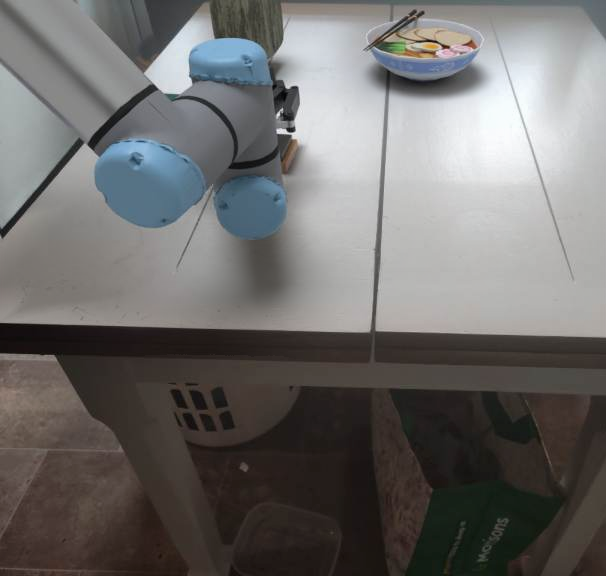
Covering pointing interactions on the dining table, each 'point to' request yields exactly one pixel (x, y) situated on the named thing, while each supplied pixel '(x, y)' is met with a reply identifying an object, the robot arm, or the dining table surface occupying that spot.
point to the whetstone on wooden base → (286, 150)
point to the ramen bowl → (423, 47)
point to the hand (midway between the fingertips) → (237, 79)
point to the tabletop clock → (249, 22)
